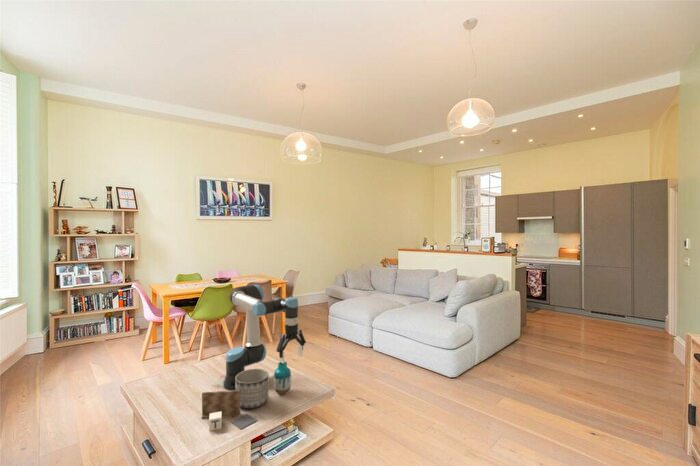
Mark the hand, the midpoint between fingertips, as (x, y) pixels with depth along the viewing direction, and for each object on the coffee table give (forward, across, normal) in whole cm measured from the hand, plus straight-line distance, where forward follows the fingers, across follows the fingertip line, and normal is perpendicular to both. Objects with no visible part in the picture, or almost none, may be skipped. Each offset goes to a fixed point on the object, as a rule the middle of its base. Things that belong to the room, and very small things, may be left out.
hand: (291, 359), depth 196 cm
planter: (+27, -15, +18) cm, 36 cm away
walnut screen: (+27, -34, +20) cm, 48 cm away
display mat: (+27, -29, +5) cm, 39 cm away
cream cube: (+27, -41, +12) cm, 50 cm away
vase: (+27, +4, +14) cm, 31 cm away
